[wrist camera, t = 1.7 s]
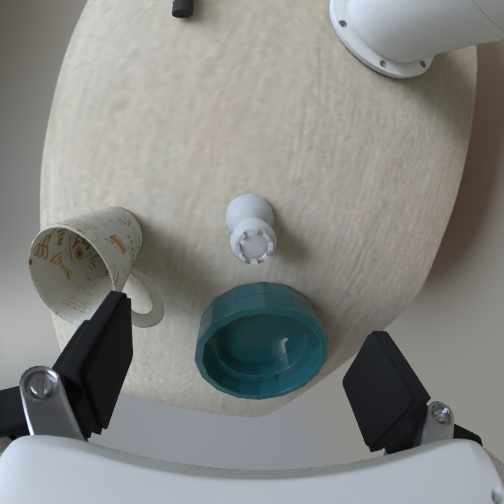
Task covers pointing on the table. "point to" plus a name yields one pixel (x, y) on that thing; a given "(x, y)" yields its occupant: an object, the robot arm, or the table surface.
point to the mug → (89, 264)
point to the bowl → (260, 341)
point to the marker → (182, 8)
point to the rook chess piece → (251, 229)
